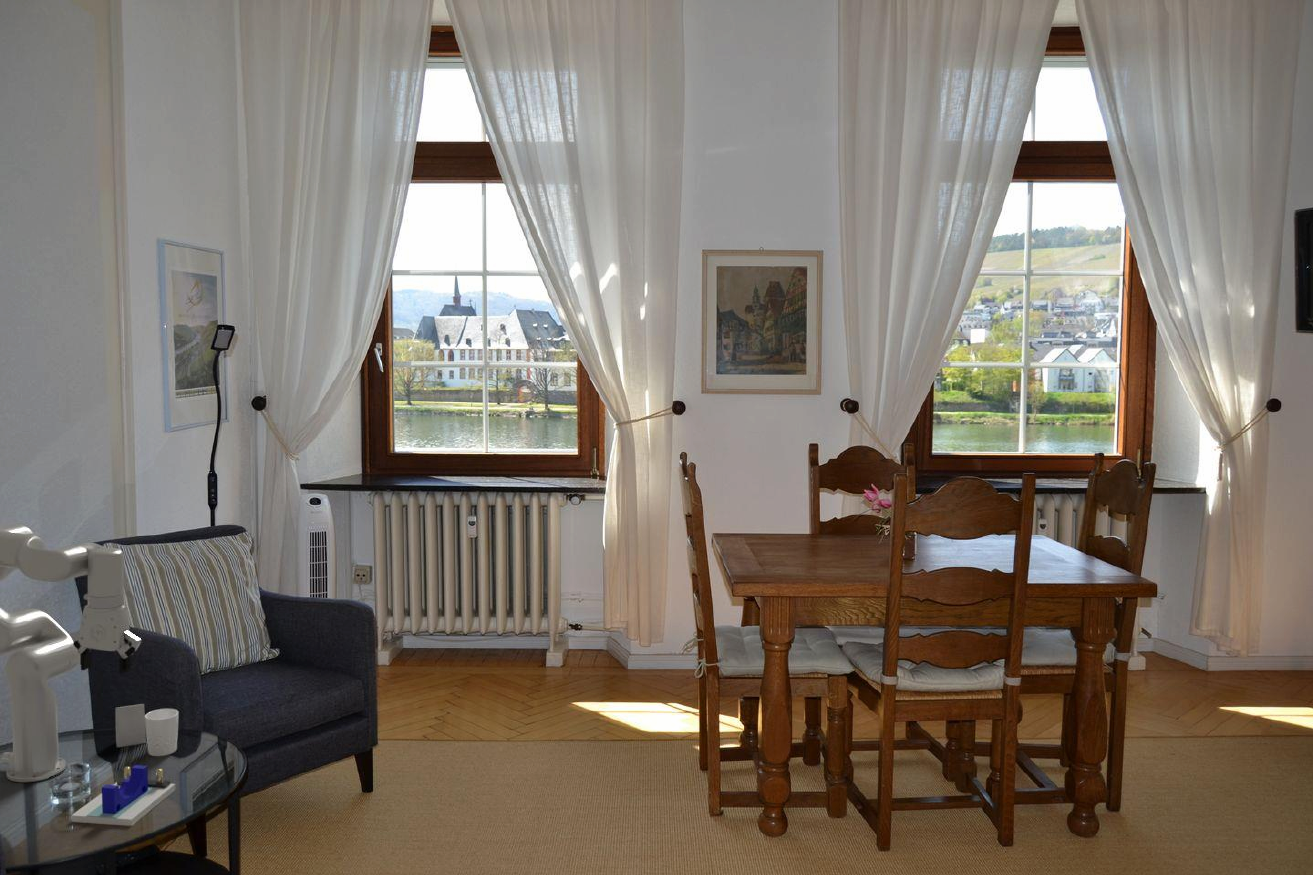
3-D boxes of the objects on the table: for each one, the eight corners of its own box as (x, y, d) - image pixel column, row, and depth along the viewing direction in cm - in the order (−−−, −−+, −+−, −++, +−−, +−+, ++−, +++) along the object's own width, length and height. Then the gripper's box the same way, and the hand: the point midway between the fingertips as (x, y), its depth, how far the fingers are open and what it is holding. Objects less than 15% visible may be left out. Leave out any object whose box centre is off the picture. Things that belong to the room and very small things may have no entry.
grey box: (145, 742, 274) (144, 706, 273) (116, 747, 271) (115, 710, 270) (144, 737, 277) (143, 701, 276) (116, 742, 274) (115, 705, 273)
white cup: (162, 759, 264) (162, 721, 263) (138, 754, 267) (137, 717, 266) (186, 747, 272) (185, 711, 271) (162, 743, 274) (161, 706, 273)
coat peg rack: (117, 784, 246) (116, 768, 246) (122, 781, 248) (121, 765, 248) (165, 788, 245) (165, 771, 245) (170, 784, 247) (169, 768, 247)
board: (71, 821, 231) (71, 814, 231) (119, 786, 249) (119, 779, 249) (131, 825, 230) (131, 818, 230) (175, 789, 248) (175, 782, 248)
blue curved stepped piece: (130, 788, 244) (129, 764, 243) (147, 790, 243) (147, 765, 243) (96, 812, 232) (95, 786, 232) (114, 814, 232) (114, 788, 231)
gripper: (60, 601, 242) (60, 672, 244) (130, 608, 240) (130, 679, 242) (82, 593, 249) (81, 661, 251) (149, 599, 248) (149, 669, 250)
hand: (105, 670), depth 247 cm, fingers open, 9 cm apart
